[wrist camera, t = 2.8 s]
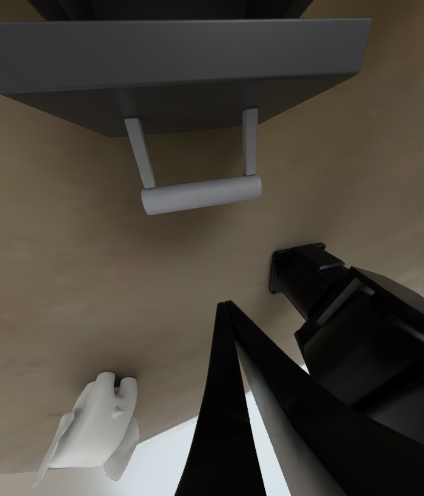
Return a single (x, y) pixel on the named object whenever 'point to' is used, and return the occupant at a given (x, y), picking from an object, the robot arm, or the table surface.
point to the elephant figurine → (97, 429)
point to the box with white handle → (177, 73)
